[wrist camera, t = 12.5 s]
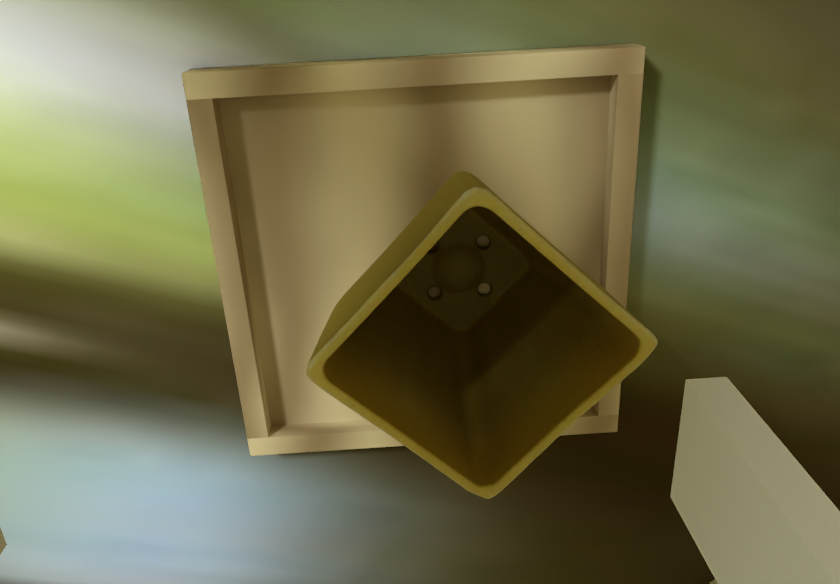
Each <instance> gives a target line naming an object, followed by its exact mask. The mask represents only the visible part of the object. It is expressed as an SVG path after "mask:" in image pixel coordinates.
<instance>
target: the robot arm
mask: <svg viewBox="0 0 840 584" xmlns="http://www.w3.org/2000/svg"><path fill="white" fill-rule="evenodd" d="M670 497H671V499H672V501H673V503H674V505H675V506H676V508H677V510H678V512H679V514H680V516H681V517H682V519H683V521H684V523H685V525H686V526H687V528H688V530H689V532H690V534H691V536H692V537H693V539H694V541H695V543H696V545H697V547H698V548H699V550H700V552H701V554H702V556H703V558H704V559H705V561H706V563H707V565H708V567H709V569H710V570H711V572H712V574H713V576H714V578H715V580H716V581H717V583H718V584H840V511H839V510H838V509H837V508H836V506H835V505H834V504H833V503H832V502H831V500H830V499H829V498H828V497H827V496H826V494H825V493H824V492H823V491H822V490H821V488H820V487H819V486H818V485H817V484H816V483H815V481H814V480H813V479H812V478H811V477H810V475H809V474H808V473H807V472H806V471H805V469H804V468H803V467H802V466H801V465H800V463H799V462H798V461H797V460H796V459H795V458H794V456H793V455H792V454H791V453H790V452H789V450H788V449H787V448H786V447H785V446H784V444H783V443H782V442H781V441H780V440H779V438H778V437H777V436H776V435H775V434H774V433H773V431H772V430H771V429H770V428H769V427H768V425H767V424H766V423H765V422H764V421H763V419H762V418H761V417H760V416H759V415H758V413H757V412H756V411H755V410H754V409H753V408H752V406H751V405H750V404H749V403H748V402H747V400H746V399H745V398H744V397H743V396H742V394H741V393H740V392H739V391H738V390H737V388H736V387H735V386H734V385H733V384H732V383H731V381H730V380H729V379H728V378H727V377H715V378H700V379H686V381H685V389H684V397H683V404H682V412H681V419H680V427H679V434H678V442H677V450H676V457H675V465H674V472H673V480H672V487H671V495H670ZM6 545H7V544H6V542H5V539H4V536H3V534H2V531H1V528H0V554H1V553H2V551H3V549H4V548H5V546H6Z"/></svg>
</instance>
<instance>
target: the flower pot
mask: <svg viewBox="0 0 840 584" xmlns="http://www.w3.org/2000/svg"><path fill="white" fill-rule="evenodd" d="M482 235H484V236H487V237H488V239H489V244H488V245H487V246H486V247H479V246H478V245H477V239H478V237H480V236H482ZM436 242H437V243H438V247H437V249H436V250H435V251H429V250H430V249H431V248H432V247H433V245H434V244H435V243H436ZM482 283H487V284H489V285H490V291H489V292H488V293H486V294H481V293H480V292H479V291H478V287H479V286H480V284H482ZM432 287H438V288H439V289H440V291H441V294H440V296H438V297H437V298H433V297H431V296H430V295H429V289H430V288H432ZM657 345H658V340H657V338H656V337H655V335H654V334H653V333H652V332H651V331H650V330H649V329H647V328H646V327H645V326H644V325H643V324H642V323H641V322H640V321H639V320H638V319H637V318H635V317H634V316H633V315H632V314H631V313H630V312H629V311H628V310H627V309H626V308H625V307H624V306H622V305H621V304H620V303H619V302H618V301H617V300H616V299H615V298H614V297H613V296H612V295H611V294H609V293H608V292H607V291H606V290H605V289H604V288H603V287H602V286H601V285H600V284H598V283H597V282H596V281H595V280H594V279H592V278H591V277H590V276H589V275H588V274H587V273H585V272H584V271H583V270H582V269H581V268H579V267H578V266H577V265H576V264H575V263H573V262H572V261H571V260H570V259H569V258H568V257H566V256H565V255H564V254H563V253H562V252H561V251H559V250H558V249H557V248H556V247H555V246H554V245H552V244H551V243H550V242H549V241H548V240H547V239H545V238H544V237H543V236H542V235H541V234H540V233H539V232H538V231H536V230H535V229H534V228H533V227H532V226H531V225H530V224H529V223H528V222H526V221H525V220H524V219H523V218H522V217H521V216H520V215H519V214H517V213H516V212H515V211H514V210H513V209H512V208H511V207H510V206H508V205H507V204H506V203H505V202H504V201H503V200H502V199H501V198H500V197H498V196H497V195H496V194H495V193H494V192H493V191H492V190H491V189H490V188H488V187H487V186H486V185H485V184H484V183H483V182H482V181H481V180H480V179H478V178H477V177H476V176H475V175H473V174H472V173H469V172H466V171H460V172H457V173H455V174H453V175H452V176H451V177H450V178H449V179H448V180H447V181H446V182H445V183H444V184H443V185H442V187H441V188H440V189H439V190H438V191H437V193H436V194H435V195H434V196H433V197H432V198H431V199H430V201H429V202H428V203H427V204H426V205H425V206H424V207H423V209H422V210H421V211H420V212H419V213H418V214H417V215H416V216H415V218H414V219H413V220H412V221H411V222H410V223H409V224H408V225H407V226H406V228H405V229H404V230H403V231H402V232H401V233H400V234H399V235H398V237H397V238H396V239H395V240H394V241H393V242H392V243H391V244H390V245H389V247H388V248H387V249H386V250H385V251H384V252H383V253H382V254H381V255H380V256H379V257H378V259H377V260H376V261H375V262H374V263H373V264H372V265H371V266H370V267H369V268H368V269H367V270H366V271H365V272H364V274H363V275H362V276H361V277H360V278H359V279H358V280H357V281H356V282H355V283H354V284H353V285H352V286H351V288H350V289H349V290H348V291H347V292H346V293H345V294H344V295H343V296H342V298H341V299H340V300H339V302H338V303H337V304H336V306H335V308H334V309H333V311H332V313H331V315H330V317H329V319H328V321H327V323H326V326H325V327H324V329H323V332H322V334H321V336H320V338H319V340H318V343H317V345H316V347H315V349H314V352H313V354H312V356H311V358H310V360H309V363H308V366H307V369H306V375H307V376H308V378H309V379H310V380H311V381H312V382H313V383H314V384H316V385H317V386H318V387H319V388H321V389H322V390H324V391H325V392H326V393H328V394H329V395H331V396H332V397H334V398H335V399H337V400H338V401H339V402H341V403H342V404H344V405H346V406H347V407H349V408H350V409H352V410H353V411H355V412H356V413H358V414H359V415H361V416H362V417H363V418H365V419H366V420H368V421H369V422H370V423H372V424H373V425H375V426H376V427H378V428H379V429H381V430H382V431H384V432H385V433H387V434H388V435H390V436H391V437H393V438H394V439H396V440H397V441H398V442H400V443H401V444H403V445H404V446H405V447H407V448H408V449H410V450H411V451H413V452H414V453H416V454H417V455H418V456H420V457H421V458H423V459H424V460H425V461H427V462H428V463H429V464H431V465H432V466H433V467H435V468H436V469H438V470H439V471H441V472H442V473H443V474H445V475H446V476H448V477H449V478H450V479H452V480H453V481H454V482H456V483H457V484H459V485H460V486H462V487H463V488H464V489H466V490H468V491H469V492H471V493H473V494H475V495H478V496H480V497H483V498H486V499H490V498H492V497H494V496H495V495H497V494H498V493H499V492H501V491H502V490H503V489H504V488H505V487H506V486H507V485H508V484H509V483H511V482H512V481H513V480H514V479H515V478H516V477H517V476H518V475H519V474H520V473H521V472H522V471H523V470H524V469H525V468H526V467H527V466H528V465H529V464H530V463H531V462H532V461H533V460H534V459H535V458H537V457H538V456H539V455H540V454H541V453H542V452H543V451H544V450H545V449H546V448H547V447H548V446H549V445H550V444H551V443H552V442H553V441H554V440H555V439H556V438H557V437H559V436H560V435H561V434H562V433H563V432H564V431H565V430H566V429H567V428H568V427H569V426H570V425H571V424H573V423H574V422H575V421H576V420H577V419H578V418H579V417H580V416H582V415H583V414H584V413H585V412H586V411H587V410H589V409H590V408H591V407H592V406H593V405H594V404H596V403H597V402H598V401H599V400H601V399H602V398H603V397H604V396H605V395H606V394H608V393H609V392H610V391H611V390H612V389H613V388H614V387H615V386H617V385H618V384H619V383H620V382H621V381H622V380H623V379H625V378H626V377H627V376H628V375H629V374H630V373H632V372H633V371H634V370H635V369H636V368H637V367H639V366H640V365H641V364H642V362H643V361H644V360H645V359H646V358H647V357H648V356H649V355H650V354H651V353H652V351H653V350H654V349H655V348H656V346H657Z"/></svg>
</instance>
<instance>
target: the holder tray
mask: <svg viewBox="0 0 840 584" xmlns="http://www.w3.org/2000/svg"><path fill="white" fill-rule="evenodd" d="M644 60H645V46H642V45H638V44H635V43H629V44H611V45H594V46H577V47H560V48H542V49H525V50H508V51H491V52H473V53H456V54H439V55H422V56H404V57H387V58H370V59H353V60H335V61H318V62H301V63H284V64H266V65H249V66H232V67H215V68H197V69H190V70H188V71H186V72H184V73H182V79H183V85H184V90H185V96H186V101H187V107H188V112H189V118H190V123H191V129H192V135H193V140H194V146H195V151H196V157H197V162H198V168H199V173H200V179H201V184H202V190H203V195H204V201H205V207H206V212H207V218H208V223H209V229H210V234H211V240H212V245H213V251H214V256H215V262H216V267H217V273H218V278H219V284H220V290H221V295H222V301H223V306H224V312H225V317H226V323H227V328H228V334H229V339H230V345H231V350H232V356H233V362H234V367H235V373H236V378H237V384H238V389H239V395H240V400H241V406H242V411H243V417H244V422H245V428H246V434H247V439H248V445H249V450H250V456H256V455H271V454H286V453H302V452H317V451H332V450H347V449H363V448H378V447H393V446H404V445H403V444H401V443H400V442H398V441H397V440H396V439H394V438H393V437H391V436H390V435H388V434H387V433H385V432H384V431H382V430H381V429H379V428H378V427H376V426H375V425H373V424H372V423H370V422H369V421H368V420H366V419H365V418H363V417H362V416H361V415H359V414H358V413H356V412H355V411H353V410H352V409H350V408H349V407H347V406H346V405H344V404H342V403H341V402H339V401H338V400H337V399H335V398H334V397H332V396H331V395H329V394H328V393H326V392H325V391H324V390H322V389H321V388H319V387H318V386H317V385H316V384H314V383H313V382H312V381H311V380H310V379H309V378H308V376H307V375H306V369H307V366H308V363H309V360H310V358H311V356H312V354H313V352H314V349H315V347H316V345H317V343H318V340H319V338H320V336H321V334H322V332H323V329H324V327H325V326H326V323H327V321H328V319H329V317H330V315H331V313H332V311H333V309H334V308H335V306H336V304H337V303H338V302H339V300H340V299H341V298H342V296H343V295H344V294H345V293H346V292H347V291H348V290H349V289H350V288H351V286H352V285H353V284H354V283H355V282H356V281H357V280H358V279H359V278H360V277H361V276H362V275H363V274H364V272H365V271H366V270H367V269H368V268H369V267H370V266H371V265H372V264H373V263H374V262H375V261H376V260H377V259H378V257H379V256H380V255H381V254H382V253H383V252H384V251H385V250H386V249H387V248H388V247H389V245H390V244H391V243H392V242H393V241H394V240H395V239H396V238H397V237H398V235H399V234H400V233H401V232H402V231H403V230H404V229H405V228H406V226H407V225H408V224H409V223H410V222H411V221H412V220H413V219H414V218H415V216H416V215H417V214H418V213H419V212H420V211H421V210H422V209H423V207H424V206H425V205H426V204H427V203H428V202H429V201H430V199H431V198H432V197H433V196H434V195H435V194H436V193H437V191H438V190H439V189H440V188H441V187H442V185H443V184H444V183H445V182H446V181H447V180H448V179H449V178H450V177H451V176H452V175H453V174H455V173H457V172H460V171H466V172H469V173H472V174H473V175H475V176H476V177H477V178H478V179H480V180H481V181H482V182H483V183H484V184H485V185H486V186H487V187H488V188H490V189H491V190H492V191H493V192H494V193H495V194H496V195H497V196H498V197H500V198H501V199H502V200H503V201H504V202H505V203H506V204H507V205H508V206H510V207H511V208H512V209H513V210H514V211H515V212H516V213H517V214H519V215H520V216H521V217H522V218H523V219H524V220H525V221H526V222H528V223H529V224H530V225H531V226H532V227H533V228H534V229H535V230H536V231H538V232H539V233H540V234H541V235H542V236H543V237H544V238H545V239H547V240H548V241H549V242H550V243H551V244H552V245H554V246H555V247H556V248H557V249H558V250H559V251H561V252H562V253H563V254H564V255H565V256H566V257H568V258H569V259H570V260H571V261H572V262H573V263H575V264H576V265H577V266H578V267H579V268H581V269H582V270H583V271H584V272H585V273H587V274H588V275H589V276H590V277H591V278H592V279H594V280H595V281H596V282H597V283H598V284H600V285H601V286H602V287H603V288H604V289H605V290H606V291H607V292H608V293H609V294H611V295H612V296H613V297H614V298H615V299H616V300H617V301H618V302H619V303H620V304H621V305H622V306H624V307H625V308H626V306H627V292H628V279H629V265H630V251H631V238H632V224H633V210H634V197H635V183H636V170H637V156H638V142H639V129H640V115H641V101H642V88H643V74H644ZM488 244H489V239H488V237H487V236H484V235H482V236H480V237H478V239H477V245H478V246H479V247H486V246H487V245H488ZM437 247H438V243H437V242H436V243H435V244H434V245H433V247H432V248H431V249H430V250H429V251H435V250H436V249H437ZM478 291H479V292H480V293H481V294H486V293H488V292H489V291H490V285H489V284H487V283H482V284H480V286H479V287H478ZM440 294H441V291H440V289H439V288H438V287H432V288H430V289H429V295H430V296H431V297H433V298H437V297H438V296H440ZM620 388H621V382H620V383H619V384H618V385H617V386H615V387H614V388H613V389H612V390H611V391H610V392H609V393H608V394H606V395H605V396H604V397H603V398H602V399H601V400H599V401H598V402H597V403H596V404H594V405H593V406H592V407H591V408H590V409H589V410H587V411H586V412H585V413H584V414H583V415H582V416H580V417H579V418H578V419H577V420H576V421H575V422H574V423H573V424H571V425H570V426H569V427H568V428H567V429H566V430H565V431H564V432H563V433H562V434H561V435H576V434H591V433H606V432H617V429H618V415H619V402H620ZM561 435H560V436H561Z"/></svg>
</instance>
